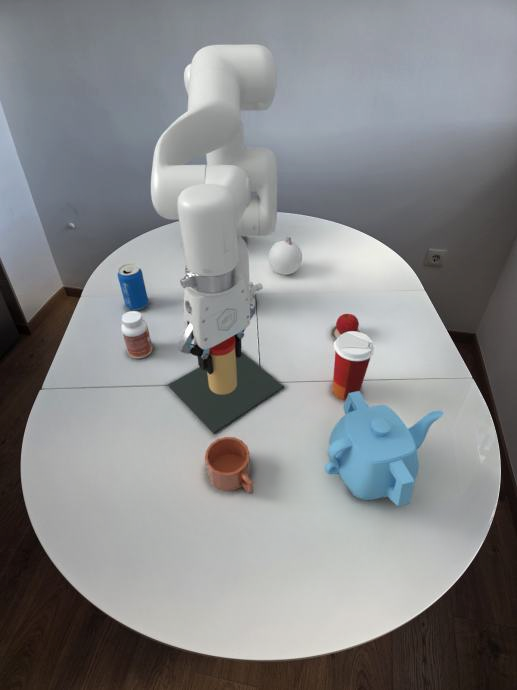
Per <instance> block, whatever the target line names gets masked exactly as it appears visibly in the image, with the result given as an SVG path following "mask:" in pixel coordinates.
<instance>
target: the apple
mask: <svg viewBox="0 0 517 690" xmlns="http://www.w3.org/2000/svg"><path fill="white" fill-rule="evenodd" d="M358 319H359V318H357V316H355V314H352V313H343V314H341V315H339V316H338V318H337V320H336V323H335V325H333V327H332V328H331V329H330V332H329V334H330V336H331V338H332V340H333V341H335V340H336V339H337V338H338V337H339V336H340V335H342V334H343V333H346V332H349V331H356V332H360V333H362V332H361V330H360V329H359V327H360V323H359V320H358Z"/></svg>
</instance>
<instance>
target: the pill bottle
mask: <svg viewBox="0 0 517 690" xmlns="http://www.w3.org/2000/svg"><path fill="white" fill-rule="evenodd" d="M121 322H122V323H121V327H120V330H121V334H122V338H123V341H124V344H125V348H126V352H127V354H128V356H129V357H130V358H133V359H144V358H146V357H148V356H149V355H150V354H151V353H152V351H153V343H152V340H151V335H150V331H149V327H148V324H147V322H146V320H145V319H143V315H142V313H141V312H140V311H138V310H130V311H127V312H125V313H123V315H122V316H121Z"/></svg>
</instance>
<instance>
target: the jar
mask: <svg viewBox="0 0 517 690" xmlns="http://www.w3.org/2000/svg"><path fill="white" fill-rule="evenodd" d="M209 355H211V357H212V362H213V371H214V372H213V373H212V374H209V373H208V372H207V374H208V382H209V388H210V390H211V391H212V392H214V393H216V394H220V395H224V394H229V393H231V392H232V391H234V390H235V388H236V386H237V372H236V355H235V336H232V337H230V338H228V339H227V340H225V341H223V342H221V343H219V344H217V345H215V346H213V347H211V348H210V351H209Z"/></svg>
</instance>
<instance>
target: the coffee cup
mask: <svg viewBox="0 0 517 690" xmlns="http://www.w3.org/2000/svg"><path fill="white" fill-rule="evenodd" d="M360 332H361V331H360ZM360 332H356V331H349V332H346V333H343V334H342V335H340V336H339V337H338V338H337V339H336V340H334V342H333V349H334V350H335V351H334V364H333V376H332V377H333V378H332V393H333V395H334V396H335V397H336V398H337V399H339V400H340V401H345V402H346V399H347V396H348V394H349V393H352V392H357V391H360V392H361V389H362V387H363V383H364V380H365V377H366V375H367V371H368V367H369V364H370V360H371V358H372V356H373V355H374V353H375V346H374V343H373V340H372V338H370V337H369V336H368V335H367V334H365V333H363V332H361V333H360Z"/></svg>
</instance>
